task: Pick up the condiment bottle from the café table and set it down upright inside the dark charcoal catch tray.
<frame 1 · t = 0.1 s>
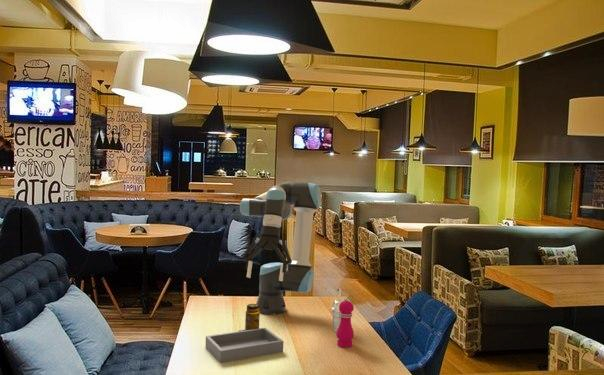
hand: (264, 279, 207), 28 cm above the table, tool tilted 20°, fingers open, 13 cm apart
catch tray: (244, 349, 206), on the table
cup with straw: (338, 331, 233), on the table
condiment: (250, 332, 226), on the table
pepper mill: (344, 345, 215), on the table
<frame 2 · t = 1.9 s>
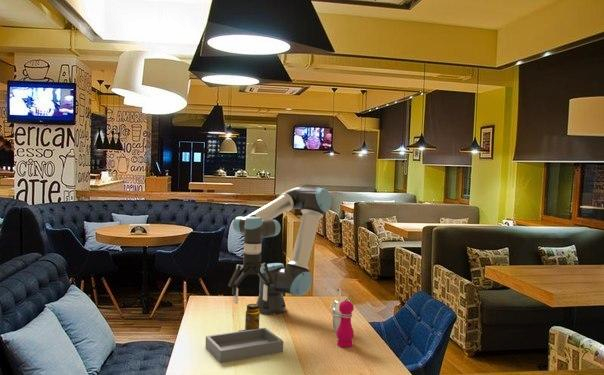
hand: (250, 301, 225), 14 cm above the table, tool pointing down, fingers open, 13 cm apart
nothing on the table moved.
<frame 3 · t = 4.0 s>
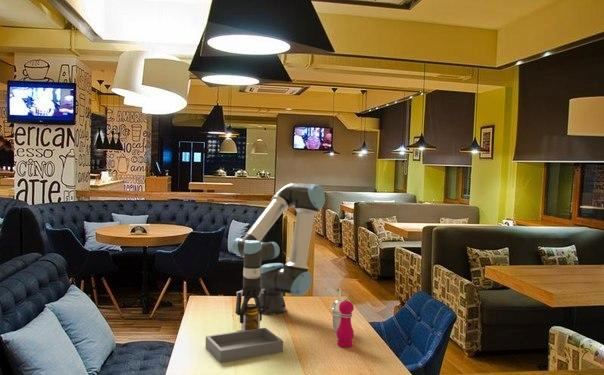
hand: (250, 329, 226), 1 cm above the table, tool pointing down, fingers closed on condiment, 6 cm apart
condiment: (248, 333, 226), on the table, touching gripper
everything else where it was.
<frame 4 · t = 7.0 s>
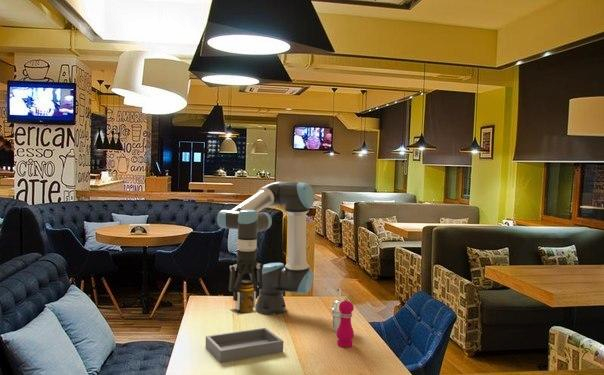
hand: (245, 307, 205), 17 cm above the table, tool pointing down, fingers closed on condiment, 6 cm apart
condiment: (243, 311, 205), point 15 cm above the table, touching gripper
everything else where it was.
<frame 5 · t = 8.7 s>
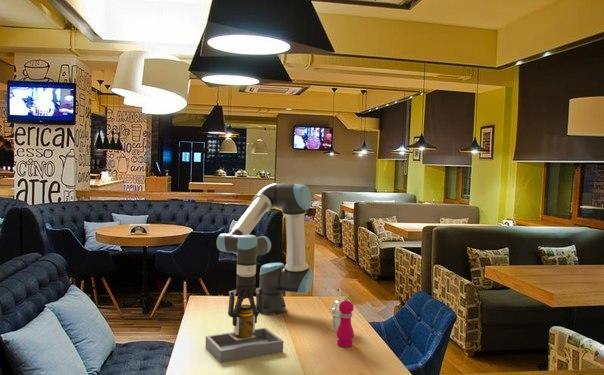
hand: (244, 332, 206), 7 cm above the table, tool pointing down, fingers closed on condiment, 6 cm apart
condiment: (242, 336, 205), point 5 cm above the table, touching gripper
everything else where it was.
when the fingers open (4 cm above the table, at t = 10.1 s): condiment drops 1 cm, resting on catch tray.
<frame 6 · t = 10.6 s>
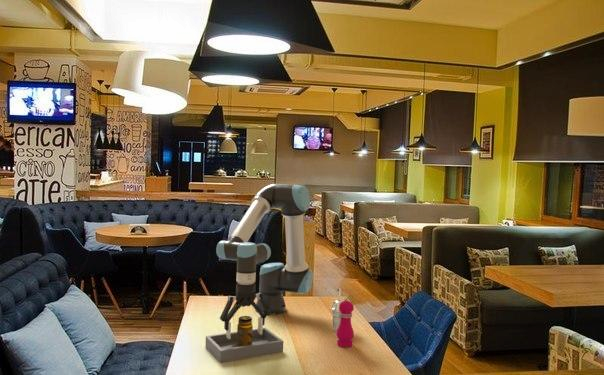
hand: (244, 335, 206), 6 cm above the table, tool pointing down, fingers open, 13 cm apart
condiment: (242, 348, 206), point 1 cm above the table, touching catch tray
everything else where it was.
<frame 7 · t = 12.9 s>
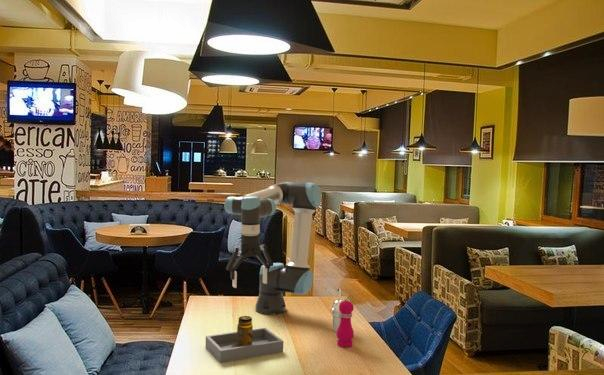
hand: (249, 285, 215), 23 cm above the table, tool pointing down, fingers open, 13 cm apart
nothing on the table moved.
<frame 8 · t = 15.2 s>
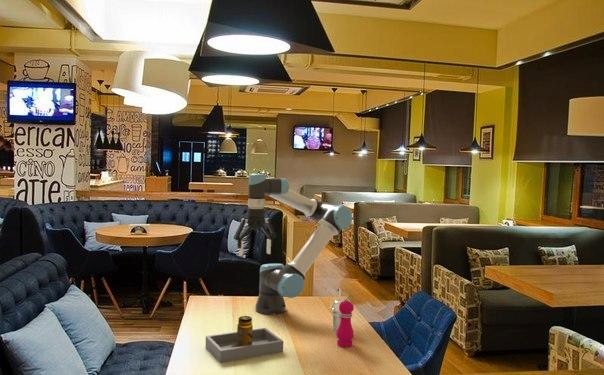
hand: (254, 254, 237), 32 cm above the table, tool pointing down, fingers open, 13 cm apart
nothing on the table moved.
at the end: condiment inside the target area on the catch tray (0.8 cm from its centre), point 0.8 cm above the catch tray's base; condiment tilted 0°; the gripper is holding nothing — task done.
